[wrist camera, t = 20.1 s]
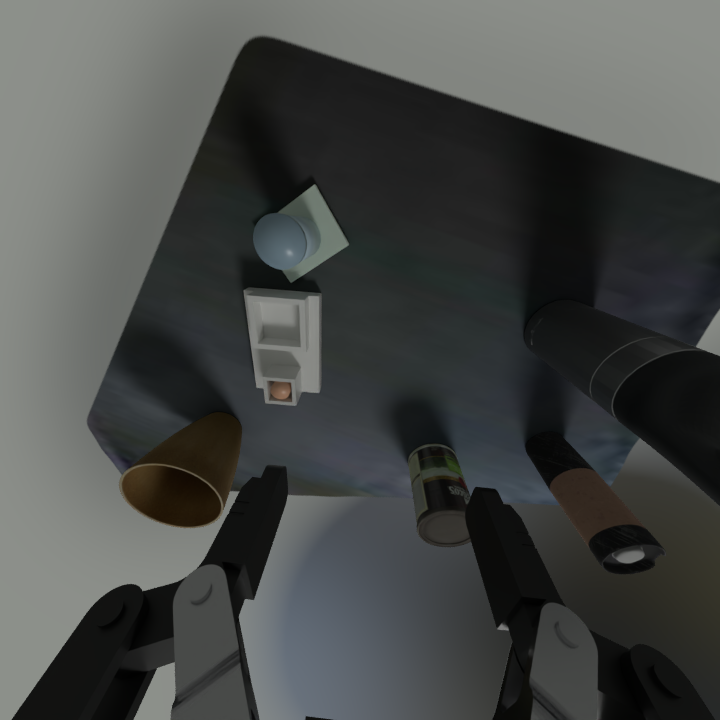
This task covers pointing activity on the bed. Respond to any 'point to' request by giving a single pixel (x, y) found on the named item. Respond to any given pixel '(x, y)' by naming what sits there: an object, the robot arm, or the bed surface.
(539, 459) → the travel mug
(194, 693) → the robot arm
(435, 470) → the coffee can
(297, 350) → the housing
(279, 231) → the blue-grey elongated rounded piece
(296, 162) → the bed surface
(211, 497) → the plant pot
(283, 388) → the plunger
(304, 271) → the mat
